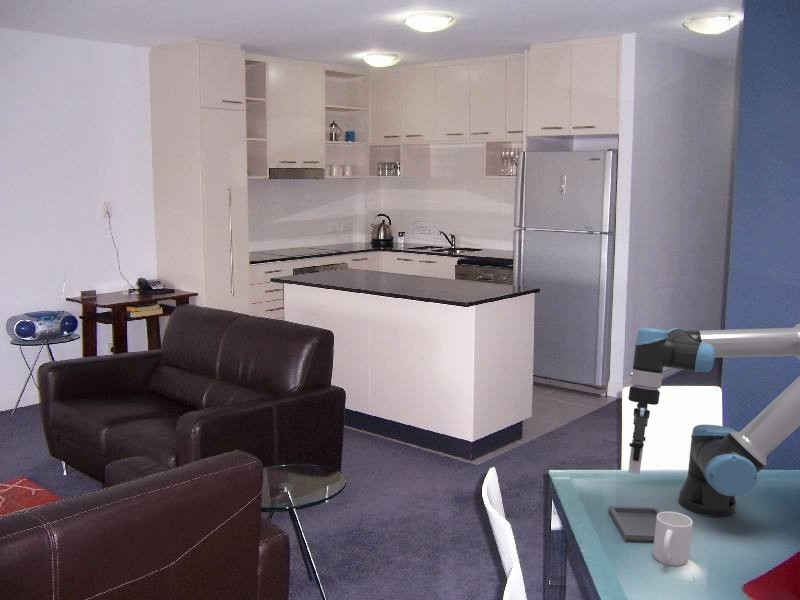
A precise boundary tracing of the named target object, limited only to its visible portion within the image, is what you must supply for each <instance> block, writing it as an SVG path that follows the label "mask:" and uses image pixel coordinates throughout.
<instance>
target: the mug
mask: <svg viewBox="0 0 800 600" xmlns="http://www.w3.org/2000/svg"><path fill="white" fill-rule="evenodd" d="M693 522H694V521H693V520H692V518H690V517H689V516H688V515H686V514H684V513H679V512H677V511H662V512H660V513H658V514H657V517H656V527H655V537H654V543H653V549H652V552H653V553H652V554H653V557H654V559H656V560H657V561H658V562H659V563H660V564H661V563H662V564H664V565H667V566H670V567H679V566H680V567H681V566H684V565H686V564H687V563H688V562H689V559H690V551H691V540H692V533H693Z"/></svg>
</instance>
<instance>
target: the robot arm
mask: <svg viewBox="0 0 800 600" xmlns="http://www.w3.org/2000/svg"><path fill="white" fill-rule="evenodd" d="M634 346H635V347H634V355H633V361H632V362H633V365H632V371H631V372H629V373H628V375H629V377H630V378H631V379H630V384H631V385H632V386H630V387H629V390H628V397H627V398H628V400H629V401H630V402H634V403H637V404H636V408H634V407H633V422H632V423H633V425H634V429H633V432H632V440H631V442H629V445H628V446H629V447H630V448H631V449H630V454H629V462H628V472H627V473H630V474H634V475H640V473H641V468H642V467H641V466H642V460H643V459H642V458H643V451H644V445H645V443H644V442H646V439H647V437H645V433H646V432H645V431H646V427H648V424H649V423H648V422H649V419H650V414H651V411H650V410H649V409H648V405H652V406H656V405H658V404H659V401H660V394H661V392H660V390H659V389H661V388H662V383H663V382H662V381H663V372H664V371H663V370H664V368H665V367H666V368H672V369H678V370H685V371H691V372H692V371H693V372H695V373H709V372H710V371H711V370H712V369H713V366H714V363H715V359H716V358H749V357H751V358H758V357H761V358H762V357H765V358H766V357H796V358H797V359H798V360H800V323H797V324H796V325H794V327H778V328H777V327H773V328H738V329H736V328H734V329H710V330H709V329H705V330H704V329H702V330H685V329H683V328H679V327H678V328H677V327H672V328H669V329H668V330H665V329H660V328H651V327H650V328H649V327H639V329H638V330H637V334H636V340H635V344H634ZM799 427H800V375H799V376H798V377H797V378H796V379H795V380H793V381H792V383H790V384H789V385H788V386H787V387H786V388H785V389H784V390H782V392H781V393H780V394H779V395H778V396H777V397H776V398H774V399H773V400H772V402H770V403H769V404H768V405H767V406H766V407H765V408H764V409H763V410H761V412H759V414H757V415H756V416H755V417H754V418H753V419H752V420H751V421H750V422H749V423H748V424H746V426H745V427H744V428H742V430H739V431H736V430H735V429H734V428H731V427H728V426H723V425H715V424H697V425H695V426H694V427H693V428H692V431H691V432H692V433H691V435H690V437H691V440H690V450H689V460H688V470H687V476H686V478H685V480H684V483H683V484H682V486H681V488H680V490H679V493H678V503H679V505H681V506H682V508H685V510H688V511H689V512H693V513H695V514H698V515H701V516H702V515H703V516H707V517H718V518H719V517H730V516H732V515H733V513H734V512H735V513H736V511H735V510H737V500H736V497H740V496H743V495H746V494H748V493H749V492H750V491H752V490H753V488H754V487H755V486H756V485H757V484H756V483H757V481H758V473H759V472H761V471H762V469H764V468H765V467H766V466H767V456H768V455H769V454H771V452H772V451H774V449H776V448H777V447H778V446H779V445H781V444H782V443H783V441H785V440H786V438H788V437H789V436H791V434H793V432H794V431H796V429H798V428H799ZM731 514H732V515H731Z"/></svg>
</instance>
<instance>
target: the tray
mask: <svg viewBox="0 0 800 600" xmlns="http://www.w3.org/2000/svg"><path fill="white" fill-rule="evenodd" d="M658 513H661V512H660V511H659V509H658V508H657V507H640V506H639V507H638V506H613V505H611V506H610V505H609V506H608V515H609V517H610V518H611V521H612V522H613V524H614V526H615V527H616V529H617V530H618V532H619V534H620V536H621V537H622V540H623V542H624V543H630V544H631V543H636V544H637V543H639V544H654V537H655V527H656V517H657V514H658Z"/></svg>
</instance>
